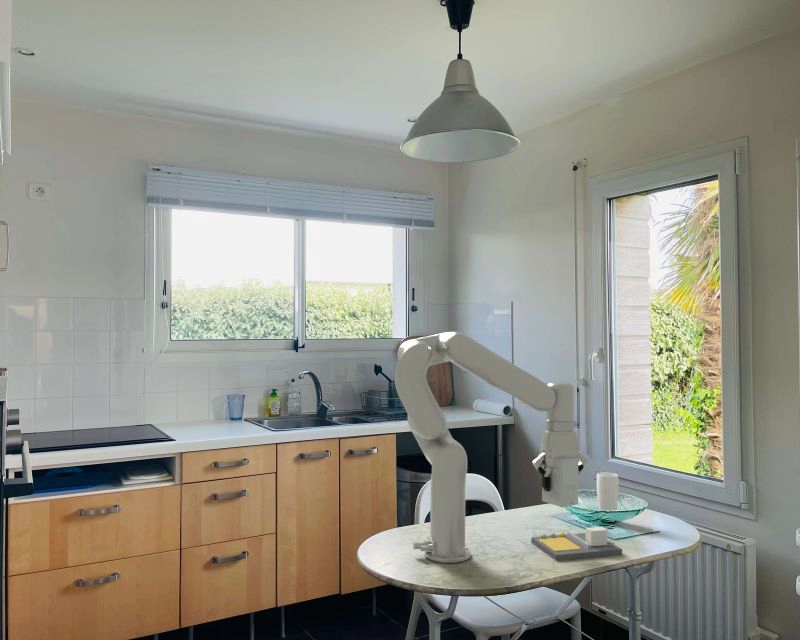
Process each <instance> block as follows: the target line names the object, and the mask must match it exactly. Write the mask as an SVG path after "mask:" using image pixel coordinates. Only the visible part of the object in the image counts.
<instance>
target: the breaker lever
mask: <svg viewBox="0 0 800 640" xmlns="http://www.w3.org/2000/svg"><path fill="white" fill-rule="evenodd" d="M585 533H586V542H587V543H589V544H590V545H591V546H602V545H607V539H608V529H607V528H605V527H603V526H593V527H585Z"/></svg>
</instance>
